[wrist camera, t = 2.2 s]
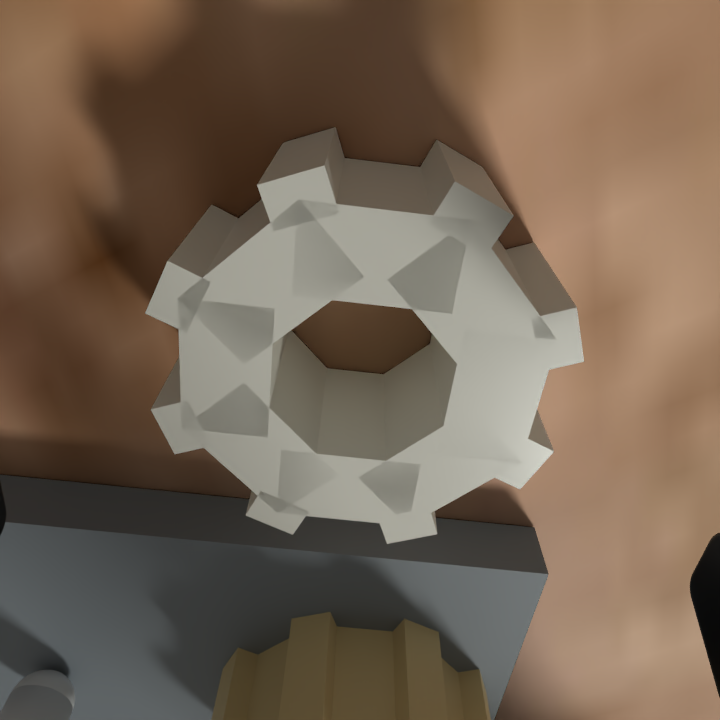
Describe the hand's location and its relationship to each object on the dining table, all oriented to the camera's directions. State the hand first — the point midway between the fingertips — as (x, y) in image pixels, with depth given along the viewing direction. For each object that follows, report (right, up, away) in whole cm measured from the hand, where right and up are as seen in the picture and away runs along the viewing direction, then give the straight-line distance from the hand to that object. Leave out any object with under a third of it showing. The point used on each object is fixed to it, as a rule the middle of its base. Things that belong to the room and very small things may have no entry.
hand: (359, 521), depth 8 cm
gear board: (-4, -6, +10) cm, 13 cm away
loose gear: (0, +3, +5) cm, 6 cm away
